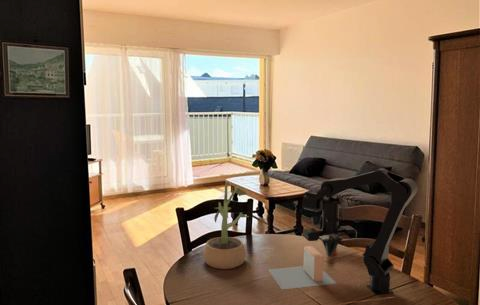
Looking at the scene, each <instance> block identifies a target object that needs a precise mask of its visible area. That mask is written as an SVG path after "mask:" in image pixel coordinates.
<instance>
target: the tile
mask: <svg viewBox="0 0 480 305" xmlns="http://www.w3.org/2000/svg"><path fill="white" fill-rule="evenodd" d="M302 266H303V270H304V271H305V272H306V273H307V274H308V275H309V276H310V277H311V278H312V279H313V281H314V282H315V281H322V279H323V271H324V255H323V254H321V253H320V252H319V251H318V250H317V249H316V248H315V247H314V246H313V245H305V246H304V247H303V265H302Z"/></svg>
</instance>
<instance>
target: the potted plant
mask: <svg viewBox="0 0 480 305" xmlns="http://www.w3.org/2000/svg"><path fill="white" fill-rule="evenodd" d="M235 194H236V195H237V196H239V197H240V196H245V195H246V194H247V193H246V192H245V191H244V190H242V189H240V188H239V185H238V184H237V185H236V188H235V189H234V190H233V191H232V193H231V194H230V196H229V197H228V182H225V183H224V197H223V198H224V199H223V205H222V203H221V202H220V201H218V207H215V209H216V210H218V211H216V214H215V215H214V222H215V224H216V223H217V220H218V217H219V214H220V215H221V219H222V221H221V227H220V228H221V231H220V232H221V236H219V237H213V238H210V239H209V240H207V241H206V243H205V246H204V248H203V251H202V257H203V261H204V263H206V265H208V266H210V267H212V268H214V269H219V270H230V269H234V268H237V267H240V266H241V265H242V264H243V263H244V262H245V260H246V258H247V251H246V247H245V244H244V243H243V240H241V239H239V238H237V237H232V236H229V234H228V230H229V229H230V228H232V227H234V226H235V225H236V224H237V223H238V222H239V221H240V219H241V218H249V217H250V216H248V215H246V214H245V213H243V212H239V214H238V216H236V218H235V219H234V220H233V221H231V222H229V223H228V219H229V210H230V211H231V209H232V207H230V206H228V205H229V204H230V202H231V201H232V199H233V197H234V196H235Z"/></svg>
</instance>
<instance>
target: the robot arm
mask: <svg viewBox="0 0 480 305" xmlns="http://www.w3.org/2000/svg"><path fill="white" fill-rule="evenodd" d="M375 183H379V184H380V185H381V186H382V187H384V188H385V189H386V190H387V191H389V192H391V195H390V206H389V207H388V209H387V213H386V214H385V218H384V220H383V222H382V225H381V227H380V229H379V232H378V234H377V236H376V239H375V240H372V241H370V242H369V243H368V244H366V247H365V250H364V253H362V256H363V258H362V262H363V264H364V265H365V267H366V269H367V272H368V275H369V276H370V278H369V284H366V285H365V286H366V288H368V289H369V290H370V291H371V292H372V293H373V294H375V295H376V296H380V295H388V294H389V295H390V294H394V291H393V290H392V289H390V285H391V275H390V274H391V273H390V272H392V271H393V268H394V267H395V265H394V264H393V262H392V261H391V260H390V259H389V257H388V256H389V250H390V249H389V248H390V247H389V246H390V243H391V241H392V238H393V236H394V233H395V231H396V229H397V227H398V224H399V222H400V220H401V217H402V215H403V212H404V210H405V208H406V207H407V206H408V205H409V203H410V202H411V201H412V199H413V198H414V197H415V196H416V194H417V193H418V190H419V186H418V185H417V182H416V181H415V180H413V179H412V178H405V177H403V176H401V175H399V174H396V173H394V172H391V171H390V170H387V169H386V168H383V167H382V168H378V169H376V170H373V171H370V172H369V171H368V172H366V173H362V174H358V175H355V176H351V177H338V178H331V179H327V180H324V181H322V183H321V185H320V189H319V191H318V192H314V191H311V190H307V191H305V192H304V193H305V194H304V196H303V198H302V201H301V206H302V209H304V210H307V211H312V212H317V213H319V212H321V211H322V213H321V215H320V218H319V217H318V216H311V217H310V225H311V226H315V228H317V229H319V230H317V229H315V228H314V227H310V228H309V227H308V228H304V229H303V230H302V237H303V238H305V239H306V241H308V242H318V241H319V240H320V241H321V242H322V244H323V247H324V249H325V253H326V255H327V257H331V256H332V254H333V252H334V251H335V249H336V247H337V246H338V244H339V243H340V242H342V241H343V239H342V238H341V236H343V235H345V236H346V237H347V238H349V239H354V238H355V239H356V238H357V236H358V232H357V230H356V229H355V228H353V227H352V226H350V225H341V226H340V227H339V222H341V218H340V217H339V214H340V205H343V204H345V203H346V200H345V199H343V198H342V196H341V195H340V196H337V195H339V194H341V193H343V192H345V191H347V190H349V189H350V190H352V189H354V188H358V187H363V186H366V185H367V186H368V185H371V184H375ZM334 196H337V197H334Z"/></svg>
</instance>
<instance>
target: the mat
mask: <svg viewBox="0 0 480 305" xmlns="http://www.w3.org/2000/svg"><path fill="white" fill-rule="evenodd" d="M267 271H268V272H269V274H270V275H271V277H272V278H273V279H274V281H275V282H276V283H277V285H278V286H279V288H280V289H281V290H290V289H299V288H300V289H301V288H308V287H309V288H311V287H319V286H327V285H337V283H338V282H336V281H335V280H334V279H333V278H332V277H331V276H330V275H329V274H328V273H327V272H326V271H325V270H323V279H322V281H315V282H314V281H313V279H312V278H311V277H310V276H309V275H308V274H307V273H306V272H305V271H304V270H303V265H299V266H290V267H280V268H270V269H267Z"/></svg>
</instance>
